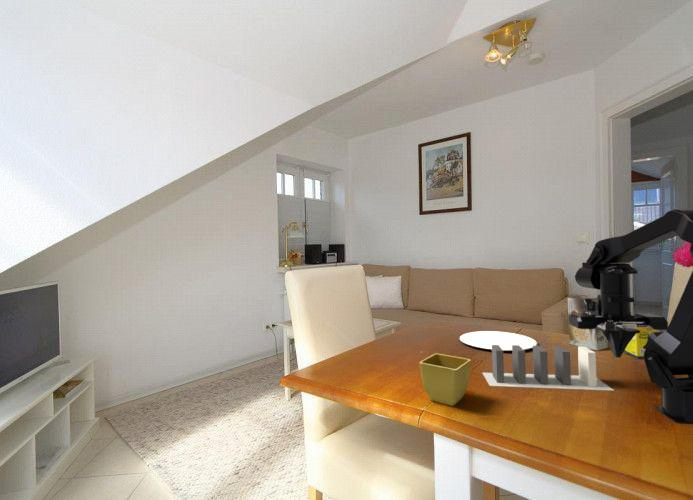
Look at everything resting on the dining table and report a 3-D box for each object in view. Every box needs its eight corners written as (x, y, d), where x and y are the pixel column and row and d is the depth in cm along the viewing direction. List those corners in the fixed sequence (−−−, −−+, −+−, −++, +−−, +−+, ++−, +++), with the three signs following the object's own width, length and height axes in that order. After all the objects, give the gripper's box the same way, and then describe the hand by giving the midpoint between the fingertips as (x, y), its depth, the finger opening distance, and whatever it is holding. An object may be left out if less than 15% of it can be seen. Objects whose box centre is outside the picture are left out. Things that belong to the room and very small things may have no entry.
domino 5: (596, 386, 82) (595, 352, 82) (589, 386, 83) (588, 352, 83) (585, 378, 87) (585, 346, 87) (578, 378, 87) (577, 346, 87)
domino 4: (571, 385, 83) (570, 352, 83) (563, 385, 84) (562, 351, 84) (562, 377, 88) (561, 346, 88) (555, 377, 88) (554, 346, 88)
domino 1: (504, 383, 86) (503, 350, 86) (497, 382, 86) (496, 350, 86) (499, 375, 91) (498, 345, 91) (492, 375, 91) (491, 344, 91)
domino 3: (548, 384, 84) (547, 351, 84) (541, 384, 84) (540, 351, 84) (540, 377, 89) (539, 345, 89) (533, 376, 89) (532, 345, 89)
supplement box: (660, 359, 100) (659, 321, 100) (636, 359, 102) (635, 321, 102) (647, 353, 106) (646, 317, 106) (624, 352, 107) (623, 317, 107)
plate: (445, 339, 131) (445, 334, 131) (500, 332, 138) (500, 328, 138) (492, 358, 107) (492, 353, 107) (555, 349, 114) (555, 344, 114)
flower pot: (436, 389, 84) (435, 352, 84) (472, 398, 79) (471, 358, 79) (419, 402, 78) (418, 362, 78) (457, 413, 72) (456, 370, 72)
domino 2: (526, 383, 85) (525, 351, 85) (518, 383, 85) (518, 351, 85) (519, 376, 90) (518, 345, 90) (513, 376, 90) (512, 345, 90)
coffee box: (609, 348, 113) (607, 298, 113) (597, 351, 110) (595, 300, 110) (579, 341, 121) (578, 295, 121) (568, 344, 118) (566, 297, 118)
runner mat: (614, 392, 80) (614, 390, 80) (489, 387, 85) (489, 385, 85) (594, 377, 89) (593, 376, 89) (482, 374, 94) (482, 372, 94)
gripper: (637, 287, 90) (639, 348, 90) (558, 288, 93) (560, 347, 93) (669, 293, 79) (671, 362, 79) (578, 294, 82) (580, 360, 82)
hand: (617, 357), depth 84 cm, fingers closed
